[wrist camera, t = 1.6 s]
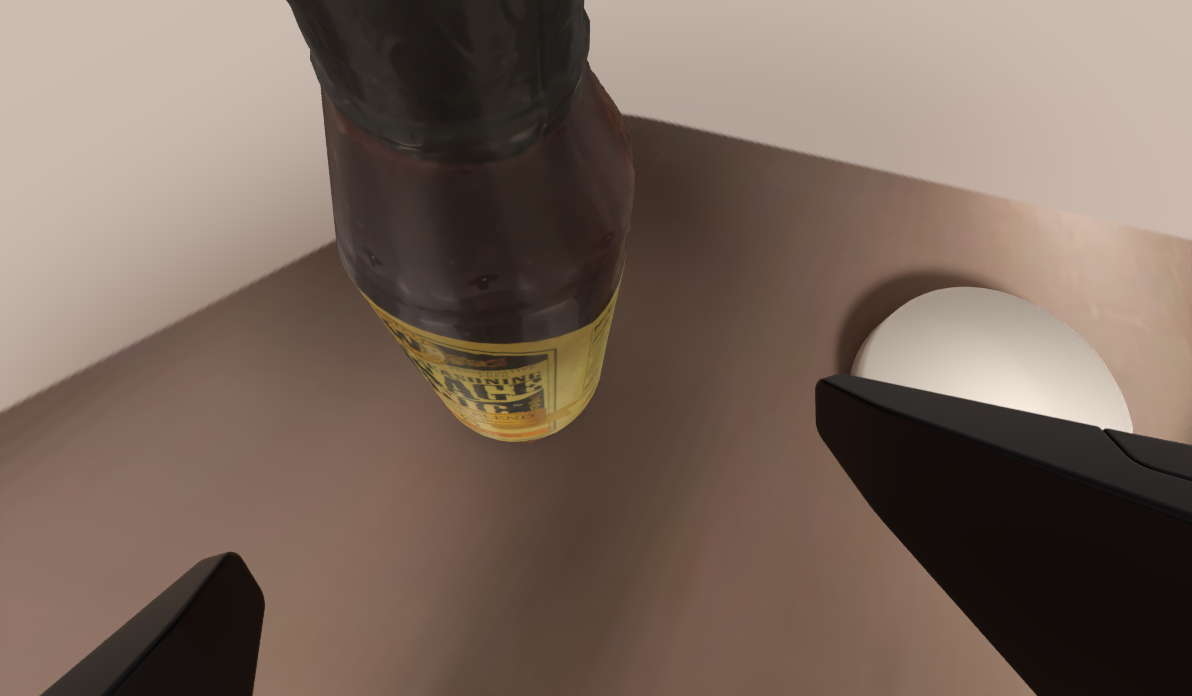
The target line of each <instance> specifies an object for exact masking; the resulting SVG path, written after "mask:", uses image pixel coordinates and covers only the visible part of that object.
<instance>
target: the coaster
mask: <svg viewBox="0 0 1192 696" xmlns="http://www.w3.org/2000/svg"><path fill="white" fill-rule="evenodd" d="M850 375H853V376H858V377H863V378H868V379H873V380H877V381H882V382H887V383H892V384H897V385H901V386H906V387H911V388H916V389H921V390H926V391H930V392H935V393H940V394H945V395H950V396H954V397H959V398H964V399H969V400H974V401H978V402H983V403H988V404H993V405H998V406H1002V407H1007V408H1012V409H1017V410H1022V411H1026V412H1031V413H1036V414H1041V415H1046V416H1050V417H1055V418H1060V419H1065V420H1070V421H1074V422H1079V423H1084V424H1089V425H1094V426H1098V427H1100V428H1101V429H1102V430H1103V429H1105V428H1109V429H1114V430H1118V431H1123V432H1128V433H1133V427H1132V422H1131V419H1130V415H1129V411H1128V408H1127V405H1126V403H1125V400H1124V398H1123V395H1122V393H1121V390H1120V389H1119V387H1118V385H1117V383H1116V381H1115V379H1114V377H1113V376H1112V374H1111V373H1110V371H1109V370H1108V368H1107V367H1106V365H1105V364H1104V362H1103V361H1102V359H1101V358H1100V357H1099V356H1098V355H1097V353H1096V352H1095V351H1094V350H1093V349H1092V347H1091V346H1090V345H1089V344H1088V343H1087V342H1086V341H1085V340H1084V339H1083V338H1082V337H1081V336H1080V335H1079V334H1078V333H1077V332H1075V331H1074V330H1073V329H1072V328H1070V327H1069V326H1068V325H1067V324H1065V323H1064V322H1063V321H1062V320H1060V319H1059V318H1057V317H1056V316H1054V315H1053V314H1051V313H1050V312H1048V311H1046V310H1044V309H1043V308H1041V307H1039V306H1037V305H1035V304H1033V303H1031V302H1029V301H1027V300H1024V299H1022V298H1019V297H1017V296H1014V295H1011V294H1008V293H1004V292H1001V291H996V290H991V289H986V288H977V287H951V288H945V289H939V290H935V291H932V292H929V293H925V294H923V295H921V296H918V297H916V298H914V299H912V300H910V301H909V302H907V303H906V304H904V305H903V306H901V307H900V308H899V309H897V310H896V311H895V312H894V313H892V314H891V315H890V316H889V317H887V318H886V319H885V320H884V321H882V322H881V323H880V324H879V325H878V326H877V327H876V328H875V329H874V330H873V331H871V333H870V334H869V335H868V336H867V338H866V339H865V340H864V342H863V343H862V345H861V347H860V349H859V350H858V352H857V354H856V357H855V359H854V362H853V365H852V368H851V373H850Z"/></svg>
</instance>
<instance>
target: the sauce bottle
mask: <svg viewBox="0 0 1192 696" xmlns="http://www.w3.org/2000/svg"><path fill="white" fill-rule="evenodd" d="M287 2H288V3H289V5H290V6H291V8H292V11H293V13H294V16H295V18H296V21H297V23H298V26H299V28H300V30H301V32H302V35H303V37H304V39H305V41H306V43H307V45H308V46H309V48H310V60H311V63H312V65H313V68H314V70H315V73H316V75H317V79H318V81H319V83H320V85H321V95H322V105H323V114H324V125H325V135H326V146H327V155H328V165H329V175H330V184H331V194H332V202H333V213H334V223H335V232H336V243H337V248H338V253H339V256H340V259H341V262H342V264H343V266H344V268H345V270H346V272H347V274H348V275H349V276H350V278H351V279H352V281H353V282H354V283H355V285H356V286H357V288H358V290H359V292H360V293H361V294H362V295H363V296H364V297H365V298H366V300H367V301H368V302H369V303H370V305H371V306H372V308H373V309H374V311H375V312H376V313H377V314H378V316H379V317H380V318H381V320H382V321H383V323H384V324H385V325H386V327H387V328H388V329H389V331H390V332H391V334H392V336H393V337H394V339H395V340H396V341H397V342H398V343H399V345H400V346H401V347H402V349H403V350H404V351H405V353H406V355H407V356H408V357H409V358H410V360H411V361H412V362H413V363H414V364H415V365H416V367H417V368H418V370H419V371H420V373H421V374H422V375H423V376H424V377H425V379H426V380H427V381H428V382H429V384H430V385H431V386H432V387H433V389H434V390H435V391H436V393H437V394H438V395H439V397H440V398H441V399H442V401H443V402H444V403H445V405H446V406H447V407H448V409H449V410H450V411H451V412H452V413H453V414H454V415H455V416H456V418H458V419H459V420H460V421H461V422H462V423H463V424H465V425H466V426H467V427H469V428H470V429H472V430H474V431H476V432H478V433H479V434H481V435H483V436H486V437H489V438H493V439H497V440H500V441H509V442H517V443H533V442H535V441H537V440H539V439H541V438H544V437H546V436H549V435H551V434H554V433H556V432H558V431H560V430H561V429H562V428H564V427H566V426H567V425H568V424H569V423H571V422H572V421H573V420H574V419H575V418H577V417H578V416H579V415H580V414H581V413H582V412H583V410H584V409H585V407H586V406H587V404H588V403H589V401H590V400H591V398H592V396H593V394H594V392H595V390H596V387H597V385H598V382H599V380H600V375H601V369H602V364H603V360H604V355H605V350H606V344H607V340H608V335H609V331H610V326H611V322H612V317H613V313H614V308H615V304H616V300H617V296H618V292H619V287H620V283H621V278H622V274H623V270H624V266H625V256H626V241H625V239H626V235H627V233H628V232H629V230H630V228H631V217H632V209H633V203H634V196H635V184H634V182H635V170H634V166H633V148H632V144H631V134H630V132H629V130H628V128H627V125H626V123H625V121H624V119H623V117H622V115H621V113H620V111H619V110H618V108H617V106H616V105H615V103H614V102H613V100H612V99H611V97H610V96H609V94H608V93H607V92H606V91H605V89H604V87H603V86H602V85H601V84H600V82H599V80H598V78H597V77H596V75H595V74H594V73H593V72H592V70H591V69H590V66H589V62H588V61H587V57H588V52H589V45H590V44H589V43H590V20H589V18H588V16H587V13H586V11H585V9H584V0H287Z"/></svg>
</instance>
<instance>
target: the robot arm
mask: <svg viewBox="0 0 1192 696" xmlns="http://www.w3.org/2000/svg"><path fill="white" fill-rule="evenodd" d="M815 406H816V426H817V430H818V432H819V435H820V436H821V438H822V440H823V441H824V442H825V444H826V445H827V447H828V448H829V449H830V451H831V452H832V454H833V455H834V456H835V458H836V459H837V461H838V462H839V463H840V465H841V466H842V468H843V469H844V470H845V472H846V473H847V475H848V476H849V477H850V479H851V480H852V482H853V483H854V484H855V486H856V487H857V489H858V490H859V491H860V493H861V494H862V496H863V497H864V498H865V500H866V501H867V502H868V504H869V505H870V506H871V508H872V509H873V510H874V511H875V513H876V514H877V515H878V516H879V517H880V519H881V520H882V521H883V522H884V523H885V524H886V525H887V527H888V528H889V529H890V530H891V531H892V532H893V533H894V535H895V536H896V537H897V538H898V539H899V540H900V541H901V542H902V544H903V545H904V546H905V547H906V548H907V549H908V550H909V551H910V553H911V554H912V555H913V556H914V557H915V558H916V559H917V561H918V562H919V563H920V564H921V565H922V566H923V567H924V568H925V570H926V571H927V572H928V573H929V574H930V575H931V576H932V577H933V579H934V580H935V581H936V582H937V583H938V584H939V585H940V587H941V588H942V589H943V590H944V591H945V592H946V593H947V594H948V596H949V597H950V598H951V599H952V600H953V601H954V602H955V603H956V605H957V606H958V607H959V608H960V609H961V610H962V611H963V613H964V614H965V615H966V616H967V617H968V618H969V619H970V620H971V622H972V623H973V624H974V625H975V626H976V627H977V628H978V629H979V631H980V632H981V633H982V634H983V635H984V636H985V637H986V639H987V640H988V641H989V642H990V643H991V644H992V645H993V646H994V648H995V649H996V650H997V651H998V652H999V653H1000V654H1001V655H1002V657H1003V658H1004V659H1005V660H1006V661H1007V662H1008V663H1009V665H1010V666H1011V667H1012V668H1013V669H1014V670H1015V671H1016V672H1017V674H1018V675H1019V676H1020V677H1021V678H1022V679H1023V680H1024V681H1025V683H1026V684H1027V685H1028V686H1029V687H1030V688H1031V689H1032V691H1033V692H1034V693H1035V694H1036V695H1037V696H1192V445H1188V444H1183V443H1178V442H1173V441H1168V440H1163V439H1158V438H1152V437H1147V436H1142V435H1137V434H1133V433H1128V432H1123V431H1118V430H1114V429H1109V428H1105V429H1103V430H1102V429H1101V428H1100V427H1098V426H1094V425H1089V424H1084V423H1079V422H1074V421H1070V420H1065V419H1060V418H1055V417H1050V416H1046V415H1041V414H1036V413H1031V412H1026V411H1022V410H1017V409H1012V408H1007V407H1002V406H998V405H993V404H988V403H983V402H978V401H974V400H969V399H964V398H959V397H954V396H950V395H945V394H940V393H935V392H930V391H926V390H921V389H916V388H911V387H906V386H901V385H897V384H892V383H887V382H882V381H877V380H873V379H868V378H863V377H858V376H853V375H849V374H843V373H841V374H836V375H833V376H829V377H826V378H823V379H820V380H819V381H818V382H817V384H816V387H815ZM264 610H265V601H264V596H263V593H262V590H261V588H260V587H259V585H258V584H257V582H256V580H255V579H254V577H253V575H252V574H251V572H250V571H249V569H248V567H247V566H246V564H245V562H244V561H243V559H242V558H241V557H240V555H238V554H237V553H235V552H227V553H223V554H220V555H216V556H213V557H209V558H206V559H203V560H201V561H200V562H198V563H197V564H196V565H195V566H193V567H192V568H191V569H190V570H189V571H187V572H186V573H185V574H184V575H183V576H181V577H180V578H179V579H178V580H177V581H175V582H174V583H173V584H172V585H171V586H170V587H168V588H167V589H166V590H165V591H164V592H162V593H161V594H160V595H159V596H158V597H156V598H155V599H154V600H153V601H152V602H151V603H149V604H148V605H147V606H146V607H145V608H143V609H142V610H141V611H140V612H139V613H137V614H136V615H135V616H134V617H133V618H131V619H130V620H129V621H128V622H127V623H126V624H124V625H123V626H122V627H121V628H120V629H118V630H117V631H116V632H115V633H114V634H112V635H111V636H110V637H109V638H108V639H107V640H105V641H104V642H103V643H102V644H101V645H99V646H98V647H97V648H96V649H95V650H93V651H92V652H91V653H90V654H89V655H87V656H86V657H85V658H84V659H83V660H82V661H80V662H79V663H78V664H77V665H76V666H74V667H73V668H72V669H71V670H70V671H68V672H67V673H66V674H65V675H64V676H63V677H61V678H60V679H59V680H58V681H57V682H55V683H54V684H53V685H52V686H51V687H49V688H48V689H47V690H46V691H45V692H43V693H42V694H41V695H40V696H253V689H254V681H255V674H256V667H257V660H258V653H259V646H260V639H261V632H262V624H263V617H264Z"/></svg>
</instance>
